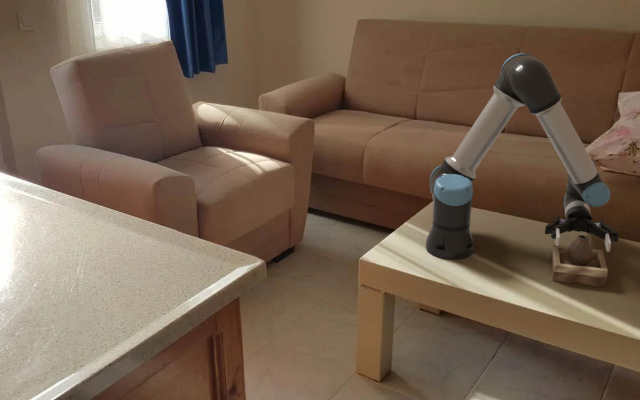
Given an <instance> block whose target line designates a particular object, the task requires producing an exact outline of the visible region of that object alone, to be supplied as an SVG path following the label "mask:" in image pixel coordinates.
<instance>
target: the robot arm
mask: <svg viewBox="0 0 640 400" xmlns="http://www.w3.org/2000/svg"><path fill="white" fill-rule="evenodd" d="M562 98H563V97H562V95H561V93H560V91H559V89H558V87H557V84H556V83H555V80H554V78H553V75H552V73H551V71H550V69H549V67H548V66H547V65H546V64H545V63H544V62H543V61H541V60H539V59H538V58H537V57H535V56H534V55H531V54H530V53H529V54H528V53H517V54H514V55H511V56H510V57H509V58H507V59H506V60H505V61H504V63H503V64H502V66H501V69H500V75H499V77H497V80H496V81H495V82H494V84H493V94H492V96H491V97H490V99H489V100H488V102H487V103H486V105H485V106H484V108H483V109H482V111H481V112H480V113H479V116H477V119H476V120H475V122H473V125H472V126H471V128H470V129H469V130H468V132H467V134H466V135H465V137H463V140H462V141H461V143H460V144H459V145H458V148H457V149H456V151H455V152H454V153H453V155H452V156H447V157H445V158H444V160H443V161H442V163H441V164H440V165H438V166H437V167H435V168H434V169H433V171H432V173H431V174H430V177H429V181H428V182H429V187H428V188H429V189H430V193H431V198H432V202H433V204H432V205H433V209H432V224H431V227H430V230H429V233H428V235H427V237H426V241H425V250H426V251H427V252H428V253H429V254H431V255H433V256H434V257H436V258H437V257H438V258H440V259H447V260H449V259H450V260H457V259H460V260H461V259H464V258H468V257H470V256H471V255H473V254H474V250H475V249H474V248H475V243H474V239H473V235H472V231H471V217H472V216H471V215H472V205H473V204H472V203H473V195H474V189H473V188H474V187H473V183H474V180H475V179H476V178H477V175H476V169H477V168H478V167H479V165H480V163H482V161H483V159H484V157H486V155H487V153H488V152H489V151H490V149H491V148H492V146H493V145H494V143H495V142H496V140H497V139H498V137H499V136H500V135H501V133H502V131H503V130H504V128H506V126H507V124H508V123H509V122H510V120H511V118H512V117H513V115H514V114H515V112H516V111H517V109H518V108H522V107H526V108H527V110H528V111H529V113H530V115H533V116H535V117H536V118H537V120H538V122H539V124H540V126H541V127H542V129H543V130H544V132H545V135H546V136H547V138H548V140H549V142H550V144H551V145H552V147H553V148H554V150H555V153H556V154H557V155H558V157H559V160H560V161H561V163H562V165H563V166H564V168H565V170H566V172H567V181H566V189H565V195H564V197H563V202H562V203H563V208H564V216H565V219H562V218H561V216H556V217H555V219H554V220H552V221H551V222H549V223H548V224H546V225H545V227H544V234H545V235H549V234H550V238H551V239H552V240H554V239H555V240H554V241H555V245H556V246H560V238H561V237H560V235H561V234H564V233H567V232H568V233H571V232H572V231H573V232H579V233H582V232H583V233H587V234H588V235H593V236H596V237H598V238H600V239H602V240H604V245H605V249H606V252H610V251H611V246H613V245H614V242H618V241H619V236H620V233H619V232H618V231H616V230H615V229H613V228H612V227H610V226H609V225H607V224H606V223H605V222H604V221H603V220H600V221H599V222H595V221H593V217H592V213H591V208H590V207H593V208H599V207H602V206H604V205H606V204H607V203H608V202H609V200H610V199H611V190H610V189H609V187H608V184H606V183H605V182H604V180H603V179H602V176H601V175H600V174H599V172H598V170H597V168H596V164H595V161H594V160H592V158H591V157H590V155H589V152H588V151H587V149H586V147H585V145H584V144H583V141H582V140H581V138H580V136H579V134H578V132H577V130H576V129H575V127H574V125H573V123H572V122H571V120H570V118H569V115H568V114H567V112H566V110H565V109H564V107H563V105H562V103H561V101H562Z"/></svg>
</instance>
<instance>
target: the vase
mask: <svg viewBox="0 0 640 400" xmlns="http://www.w3.org/2000/svg"><path fill="white" fill-rule="evenodd" d="M593 249H594V247H593V245H592V243H591V242H590V241H589V239H588V237H587V236H586V235H583V234H579V235H578V236H577V237H576V238H575V239H574V240H572V241H571V242H570V244H569V245H568V251H567V256H568V259H569V261H570V262H571V263H572V264H573V265H577V266H586V265H587V264H589V263H590V261H591V260H592V257H593Z"/></svg>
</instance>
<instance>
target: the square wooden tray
mask: <svg viewBox="0 0 640 400" xmlns="http://www.w3.org/2000/svg"><path fill="white" fill-rule="evenodd" d="M568 247H569V245H567V246H566V245H559V246H556V244H553V245H552V249H551V257H550V262H551V265H550V266H551V275H552V281H553V282H554V281H555V282H561V283H569V284H577V285H585V286H595V287H602V288H606V285H607V278H608V272H609V271H608V270H609V269H608V266H607V263H606V258H605V254H604V251H603V249H594V248H593V257H592V260H591V261H590V263H589V264H587V265H586V266H577V265H573V264H572V263H571V262H570V261H569V259H568V256H567V251H568Z"/></svg>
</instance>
